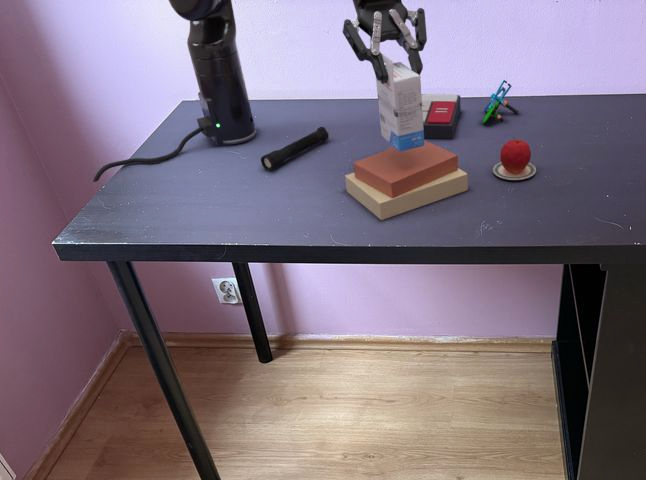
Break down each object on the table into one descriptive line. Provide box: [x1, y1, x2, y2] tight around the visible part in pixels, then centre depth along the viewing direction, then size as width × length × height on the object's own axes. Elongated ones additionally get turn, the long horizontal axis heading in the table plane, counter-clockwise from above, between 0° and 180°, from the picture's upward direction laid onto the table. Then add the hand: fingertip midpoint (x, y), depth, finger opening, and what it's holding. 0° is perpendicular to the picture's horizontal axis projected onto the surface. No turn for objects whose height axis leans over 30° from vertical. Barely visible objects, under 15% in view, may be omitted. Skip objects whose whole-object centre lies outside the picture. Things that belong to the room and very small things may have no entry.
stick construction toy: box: [482, 79, 519, 124], centre depth 143 cm, size 12×7×8 cm
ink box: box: [375, 51, 425, 152], centre depth 109 cm, size 8×5×15 cm, turn 26°
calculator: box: [421, 93, 461, 140], centre depth 141 cm, size 11×4×15 cm
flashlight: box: [260, 126, 329, 172], centre depth 133 cm, size 3×16×3 cm, turn 145°
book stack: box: [344, 140, 469, 221], centre depth 118 cm, size 18×13×6 cm
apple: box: [492, 136, 537, 181], centre depth 122 cm, size 8×8×6 cm
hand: (401, 77), depth 105 cm, fingers closed on ink box, 5 cm apart
